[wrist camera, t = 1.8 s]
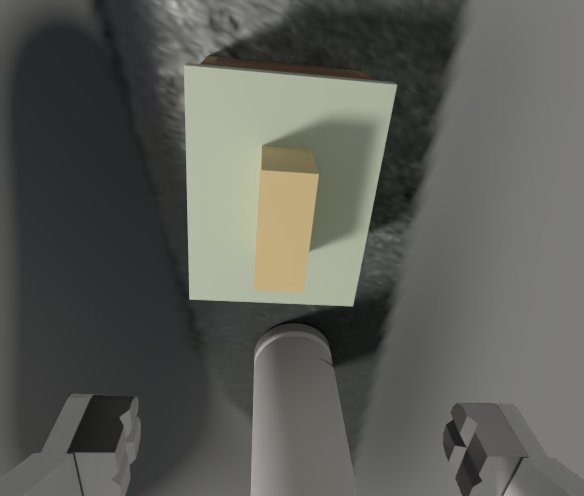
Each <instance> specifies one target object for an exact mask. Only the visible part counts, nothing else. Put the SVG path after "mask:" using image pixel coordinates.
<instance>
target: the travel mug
mask: <svg viewBox="0 0 584 496" xmlns="http://www.w3.org/2000/svg"><path fill="white" fill-rule="evenodd" d="M252 437H253V438H252V475H251V496H358V495H357V490H356V484H355V480H354V474H353V469H352V463H351V458H350V453H349V447H348V442H347V437H346V432H345V426H344V421H343V416H342V410H341V405H340V400H339V395H338V389H337V384H336V379H335V374H334V368H333V363H332V358H331V352H330V347H329V343H328V341H327V339H326V338H325V336H324V335H323V334H322V333H321V332H320V331H318V330H317V329H315V328H313V327H311V326H308V325H305V324H299V323H289V324H282V325H279V326H276V327H274V328H272V329H270V330H269V331H267V332H266V333H265V334H264V335H263V336H262V337H261V338H260V339H259V341H258V342H257V344H256V347H255V357H254V396H253V435H252Z"/></svg>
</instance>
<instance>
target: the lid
mask: <svg viewBox="0 0 584 496" xmlns="http://www.w3.org/2000/svg"><path fill="white" fill-rule="evenodd" d="M184 83H185V126H186V168H187V211H188V253H189V296H190V299H193V300H216V301H240V302H263V303H287V304H310V305H333V306H353V304H354V299H355V294H356V289H357V284H358V279H359V274H360V269H361V264H362V259H363V254H364V249H365V244H366V239H367V234H368V229H369V224H370V219H371V214H372V209H373V204H374V199H375V194H376V189H377V184H378V179H379V174H380V169H381V164H382V159H383V154H384V149H385V144H386V139H387V134H388V129H389V124H390V119H391V114H392V109H393V103H394V98H395V93H396V88H397V84H395V83H394V82H388V81H377V80H366V79H355V78H344V77H334V76H323V75H312V74H301V73H290V72H280V71H269V70H258V69H247V68H236V67H225V66H215V65H204V64H193V63H186V64H185V65H184Z"/></svg>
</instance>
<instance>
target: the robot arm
mask: <svg viewBox="0 0 584 496" xmlns="http://www.w3.org/2000/svg"><path fill="white" fill-rule="evenodd" d="M137 410H138V399H137V397H135V396H114V395H86V394H72V396H70V397H69V398H68V399H67V401H66V403H65V405H64V408H63V409H62V411H61V413H60V415H59V418H58V419H57V421H56V423H55V425H54V428H53V429H52V432H51V433H50V435H49V438H48V440H47V441H46V444H45V445H44V447H43V449H42V451H41V453H34V454H32V455H31V456H30V457H29V458H27V459H26V460H25V461H23V462H22V463H21V464H19V465H18V466H17V467H15V468H14V469H13V470H12V471H10V472H9V473H8V474H6V475H5V476H4V477H2V478H1V479H0V496H125V494H126V491H127V487H128V484H129V480H130V469H129V465H130V464H131V463H132V462H133V461H134V460H135V459H136V455H137V451H138V447H139V440H140V428H141V426H140V419H139V418H138V417H137V416H136V414H137ZM450 413H451V415H452V418H453V420H451V421H450V422H449V423H447V424H446V426H445V429H444V432H443V446H444V451H445V454H446V457H447V460H448V462H449V463H450V464H451V465H452V466H453V467H455V468H456V469H457V474H456V477H455V479H456V482H457V484H458V487H459V489H460V492H461V494H462V496H584V479H582V478H581V477H579V476H578V475H577V474H575V473H574V472H573V471H571V470H570V469H568V468H567V467H566V466H565V465H563V464H562V463H561V462H559V461H558V460H556V459H555V458H549V457H548V456H547V454H546V452H545V451H544V449H543V448H542V446H541V445H540V443H539V441H538V440H537V438H536V437H535V435H534V434H533V432H532V430H531V429H530V427H529V426H528V424H527V423H526V421H525V420H524V418H523V416H522V415H521V413H520V412H519V410H518V408H517V407H516V406H514V405H513V404H497V403H496V404H495V403H494V404H491V403H456V404H455V405H454V406H453V408H452V410H451V412H450Z"/></svg>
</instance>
